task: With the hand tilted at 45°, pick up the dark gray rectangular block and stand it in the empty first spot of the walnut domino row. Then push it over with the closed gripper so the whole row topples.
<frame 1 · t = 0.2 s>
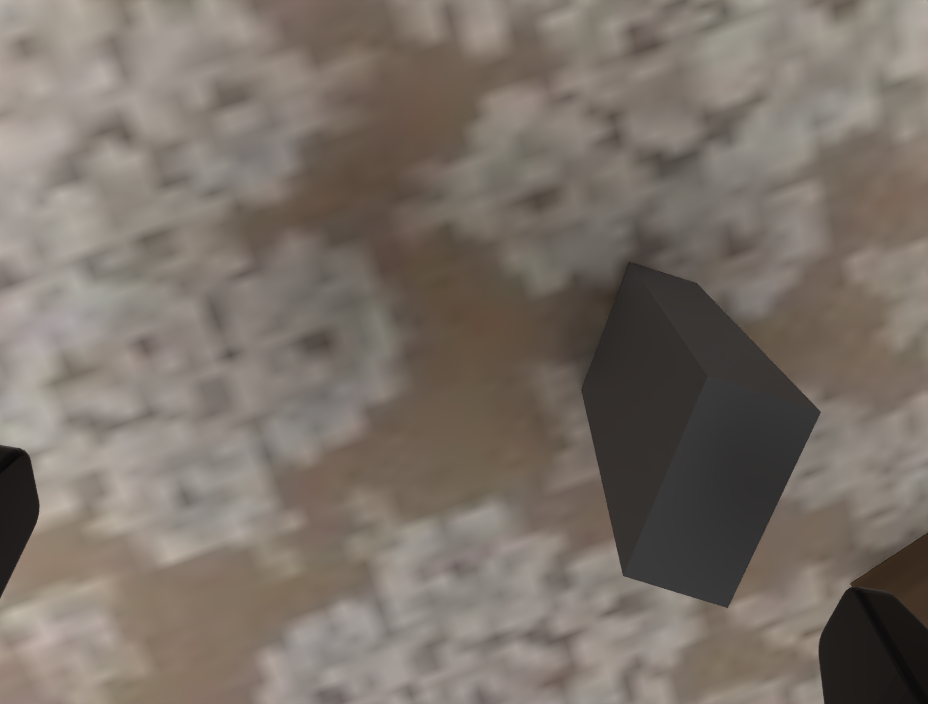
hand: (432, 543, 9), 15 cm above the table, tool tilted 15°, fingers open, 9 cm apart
domino 2: (924, 569, 26), on the table
dark gray rectangular block: (637, 337, 24), on the table
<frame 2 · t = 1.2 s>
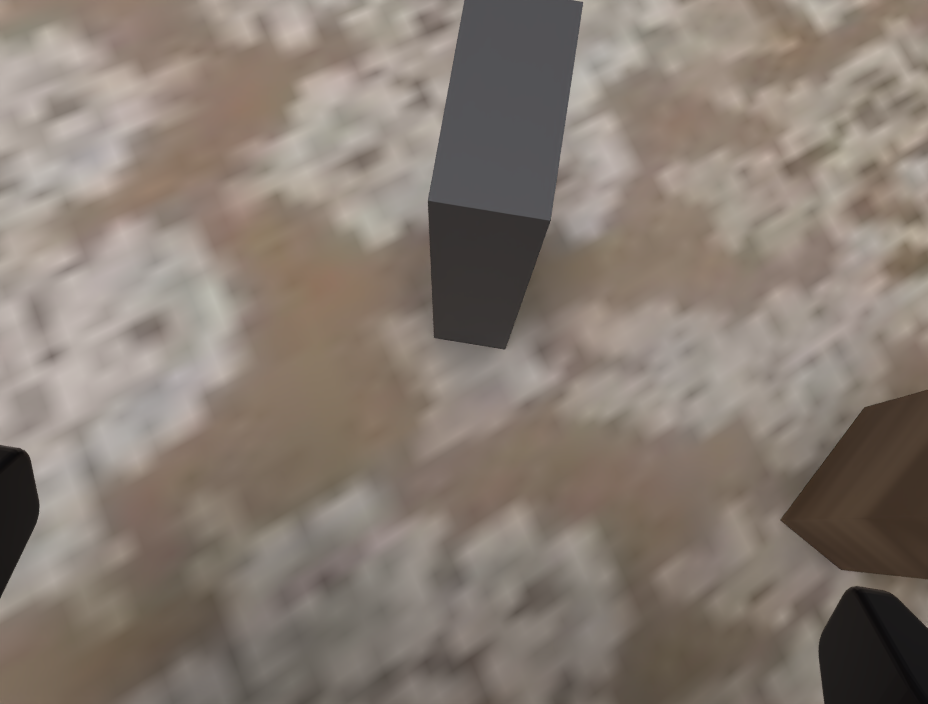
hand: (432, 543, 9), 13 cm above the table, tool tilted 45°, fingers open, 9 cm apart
domino 2: (853, 487, 23), on the table
dark gray rectangular block: (480, 275, 24), on the table
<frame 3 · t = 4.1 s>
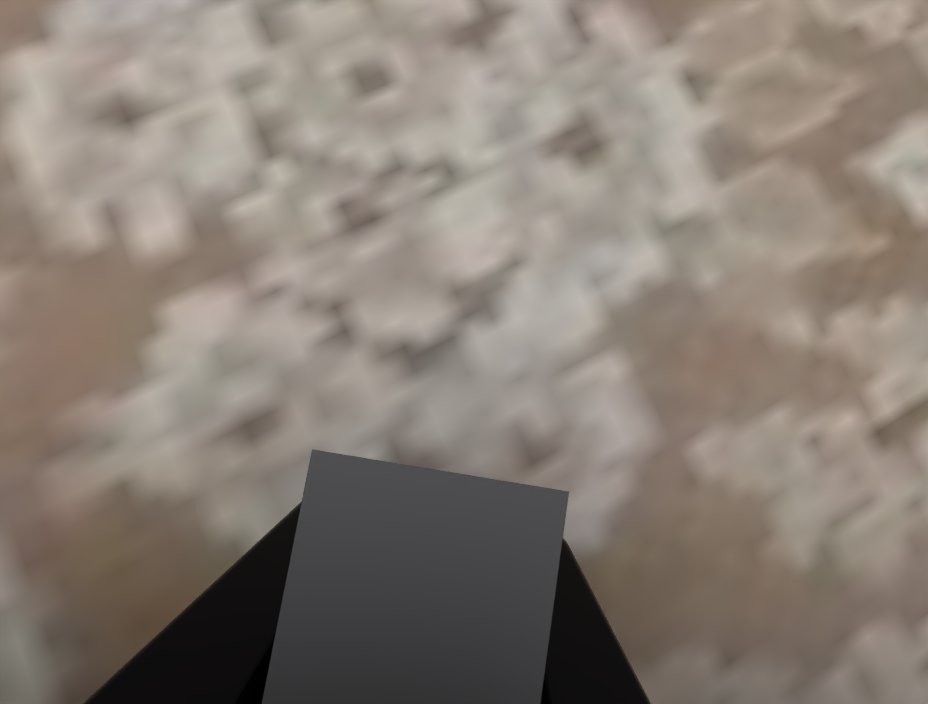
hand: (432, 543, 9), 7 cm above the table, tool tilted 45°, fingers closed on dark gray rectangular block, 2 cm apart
dark gray rectangular block: (425, 610, 16), on the table, touching gripper
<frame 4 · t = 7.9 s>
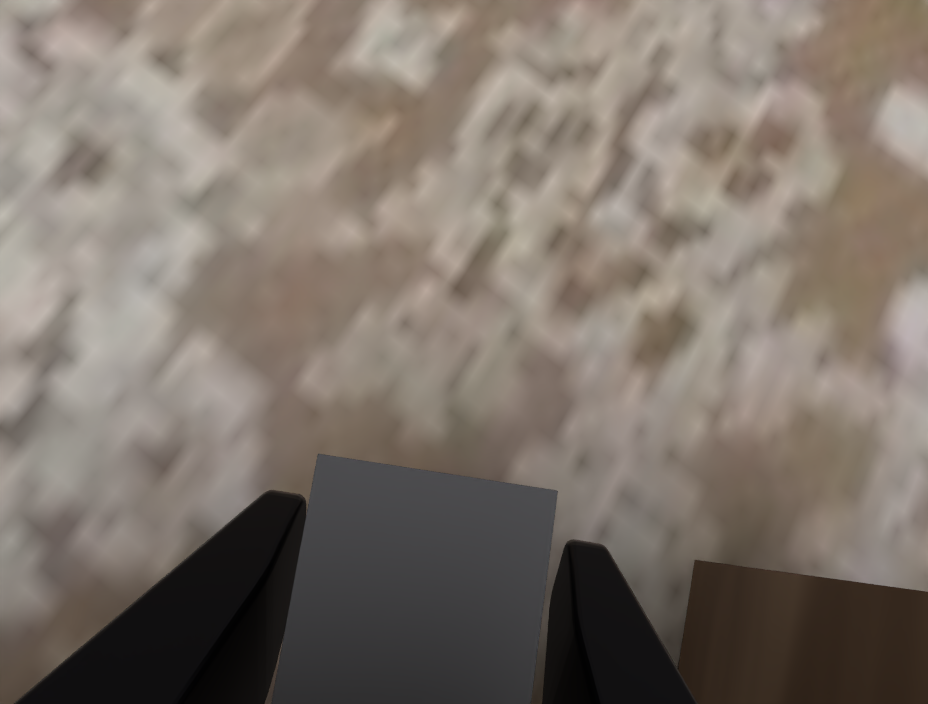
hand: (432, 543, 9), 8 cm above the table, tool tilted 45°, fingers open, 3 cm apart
domino 2: (729, 675, 16), on the table
dark gray rectangular block: (426, 604, 16), on the table
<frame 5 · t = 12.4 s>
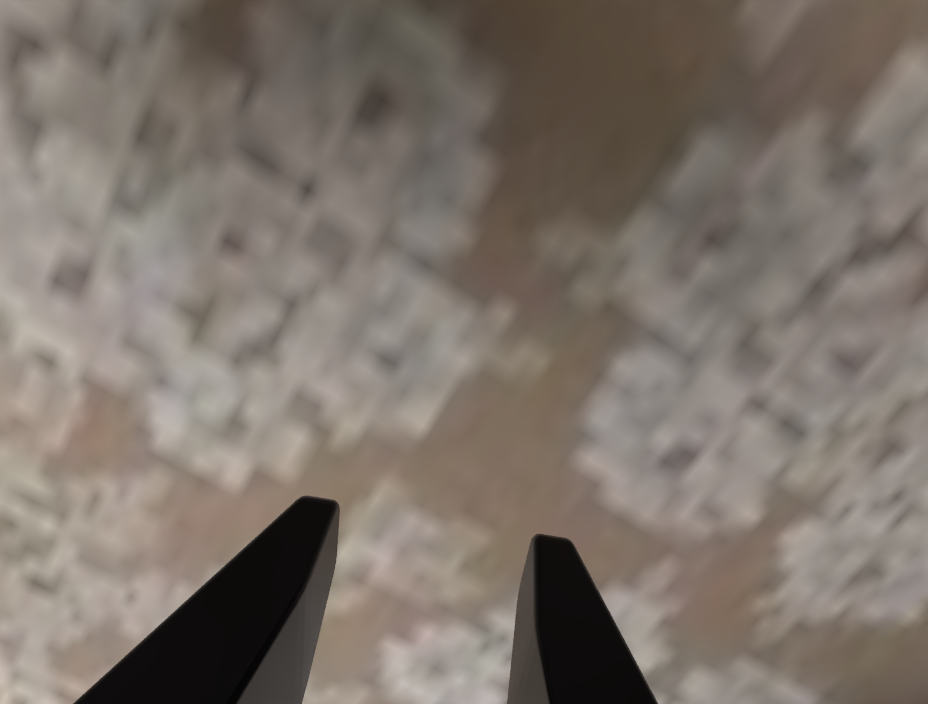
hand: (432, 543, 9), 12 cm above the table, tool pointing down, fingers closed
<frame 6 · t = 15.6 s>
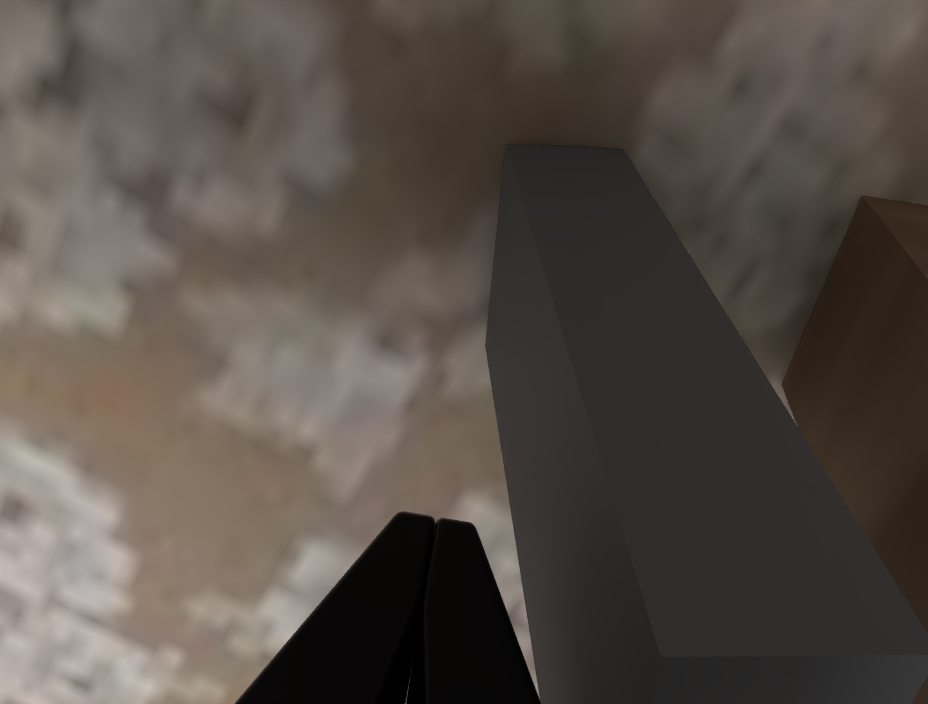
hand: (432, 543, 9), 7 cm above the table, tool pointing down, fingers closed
domino 2: (873, 306, 15), on the table
dark gray rectangular block: (549, 253, 15), on the table, tilted 9°
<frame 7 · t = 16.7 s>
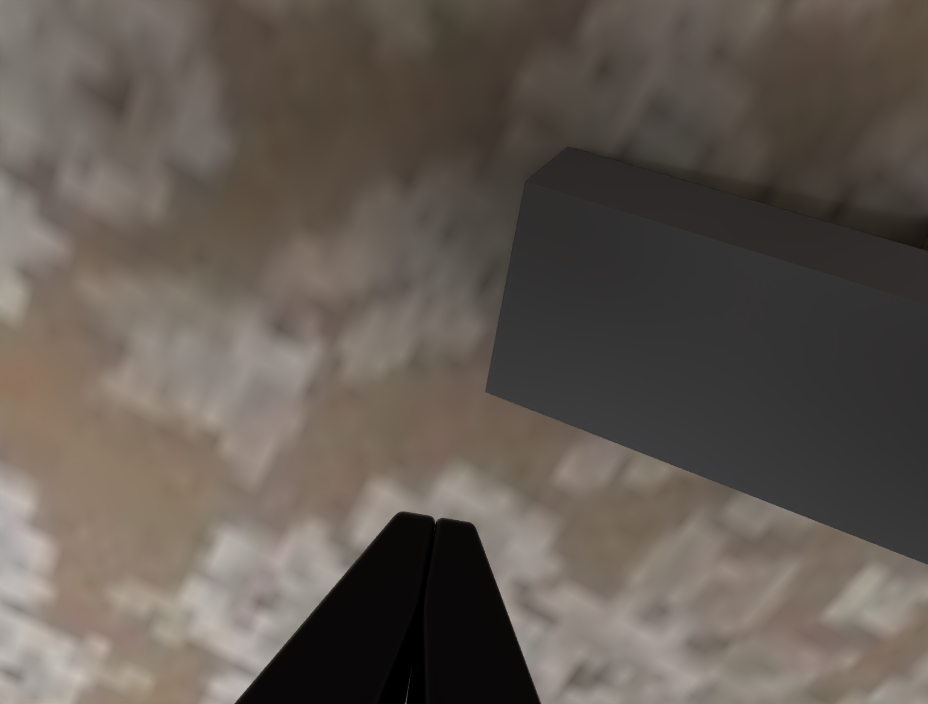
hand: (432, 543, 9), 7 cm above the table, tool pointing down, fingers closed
dark gray rectangular block: (525, 271, 15), point 1 cm above the table, tilted 71°, touching domino 2
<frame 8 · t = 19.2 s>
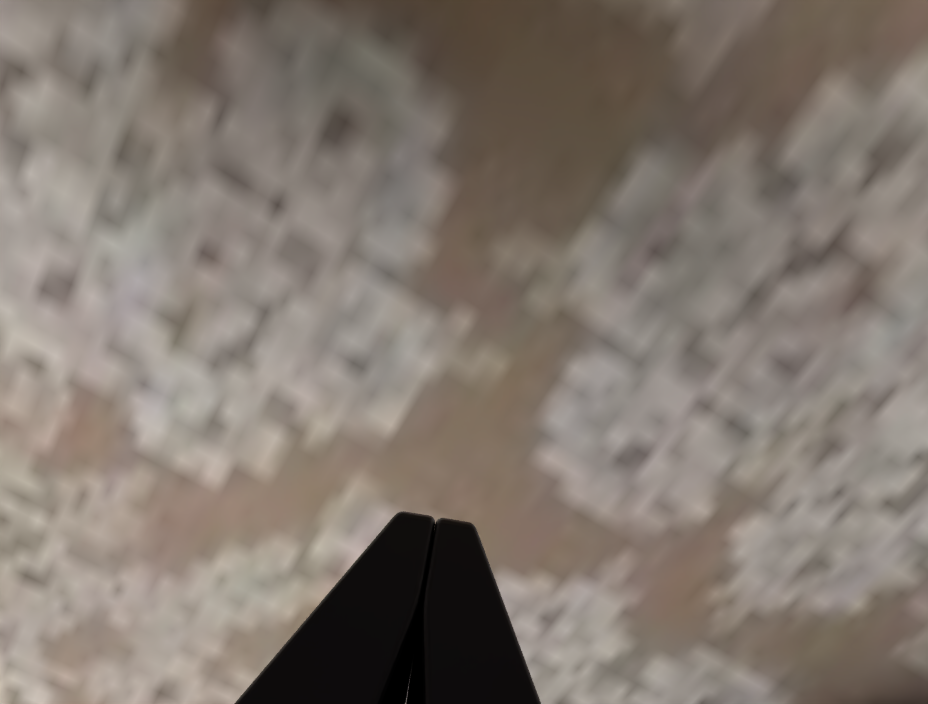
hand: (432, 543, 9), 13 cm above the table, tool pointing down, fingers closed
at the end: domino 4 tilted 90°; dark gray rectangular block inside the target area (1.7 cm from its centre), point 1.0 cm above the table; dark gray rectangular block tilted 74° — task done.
